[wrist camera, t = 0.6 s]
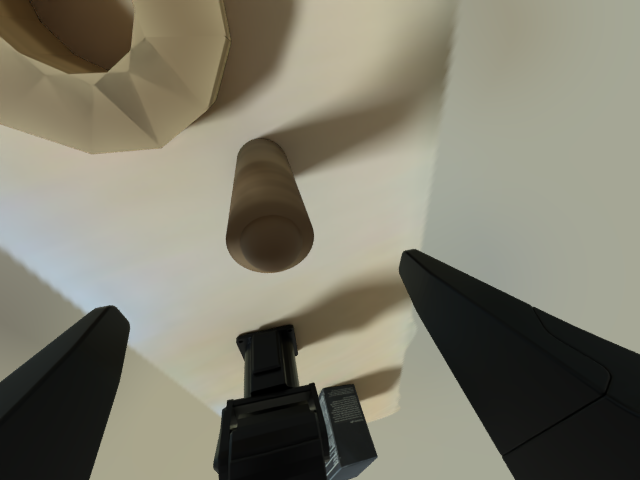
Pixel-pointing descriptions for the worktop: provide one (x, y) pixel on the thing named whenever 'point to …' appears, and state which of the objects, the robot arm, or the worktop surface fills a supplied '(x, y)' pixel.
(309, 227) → the brown cylinder
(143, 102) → the bead
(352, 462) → the small box
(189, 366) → the worktop surface
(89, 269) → the worktop surface
